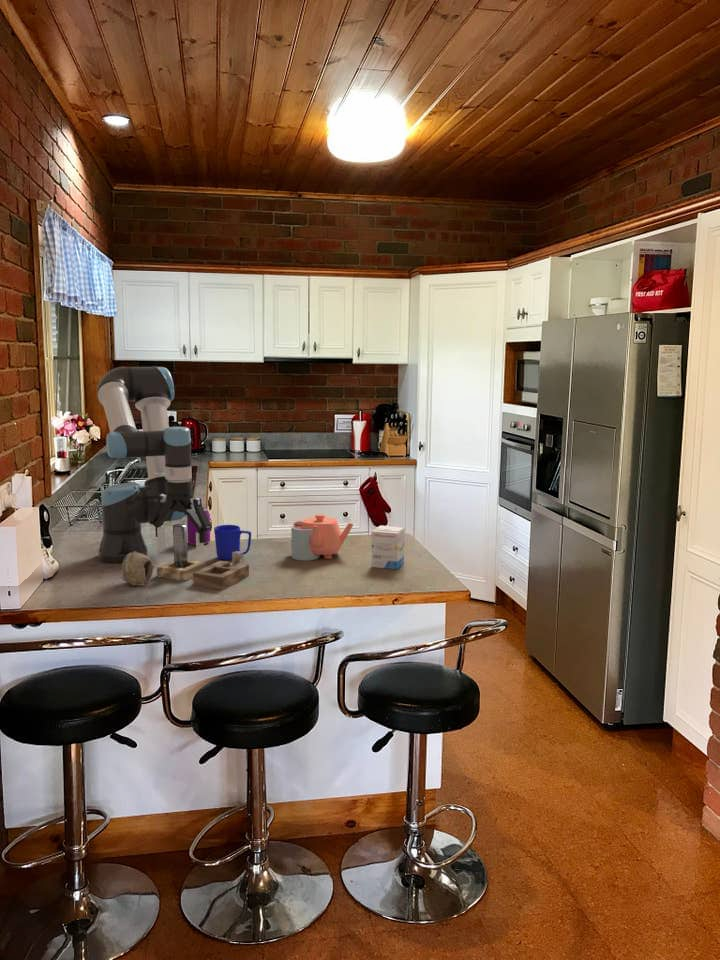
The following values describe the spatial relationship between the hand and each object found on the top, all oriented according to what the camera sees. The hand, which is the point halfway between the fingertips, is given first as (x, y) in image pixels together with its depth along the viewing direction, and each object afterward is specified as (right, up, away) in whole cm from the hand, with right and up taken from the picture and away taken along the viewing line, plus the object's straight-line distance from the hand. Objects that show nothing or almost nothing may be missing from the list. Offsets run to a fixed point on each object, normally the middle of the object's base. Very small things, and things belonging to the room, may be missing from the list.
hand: (180, 550), depth 228 cm
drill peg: (0, -7, +1) cm, 7 cm away
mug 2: (+38, -4, +21) cm, 43 cm away
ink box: (+62, -6, +14) cm, 64 cm away
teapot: (+41, -4, +23) cm, 47 cm away
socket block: (+13, -8, -4) cm, 16 cm away
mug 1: (+13, -4, +19) cm, 23 cm away
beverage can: (-2, -1, +37) cm, 37 cm away
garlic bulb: (-10, -9, -7) cm, 15 cm away
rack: (0, -7, +1) cm, 7 cm away
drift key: (+15, -7, +2) cm, 17 cm away
